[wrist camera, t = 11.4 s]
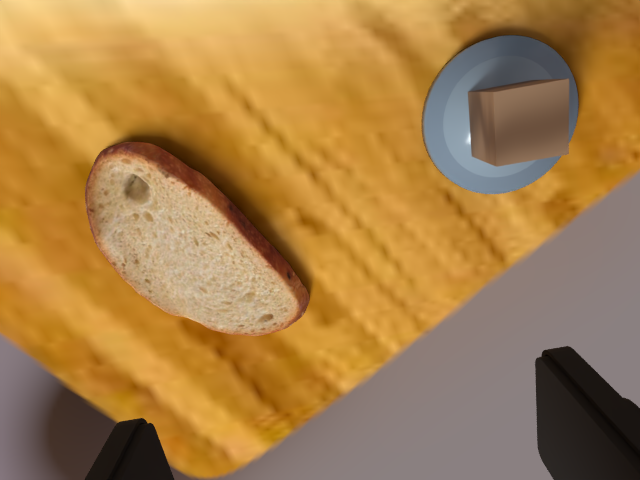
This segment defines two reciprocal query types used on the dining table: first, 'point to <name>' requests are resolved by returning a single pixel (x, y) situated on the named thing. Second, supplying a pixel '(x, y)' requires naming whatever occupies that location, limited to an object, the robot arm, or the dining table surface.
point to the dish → (453, 110)
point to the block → (520, 121)
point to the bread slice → (188, 244)
